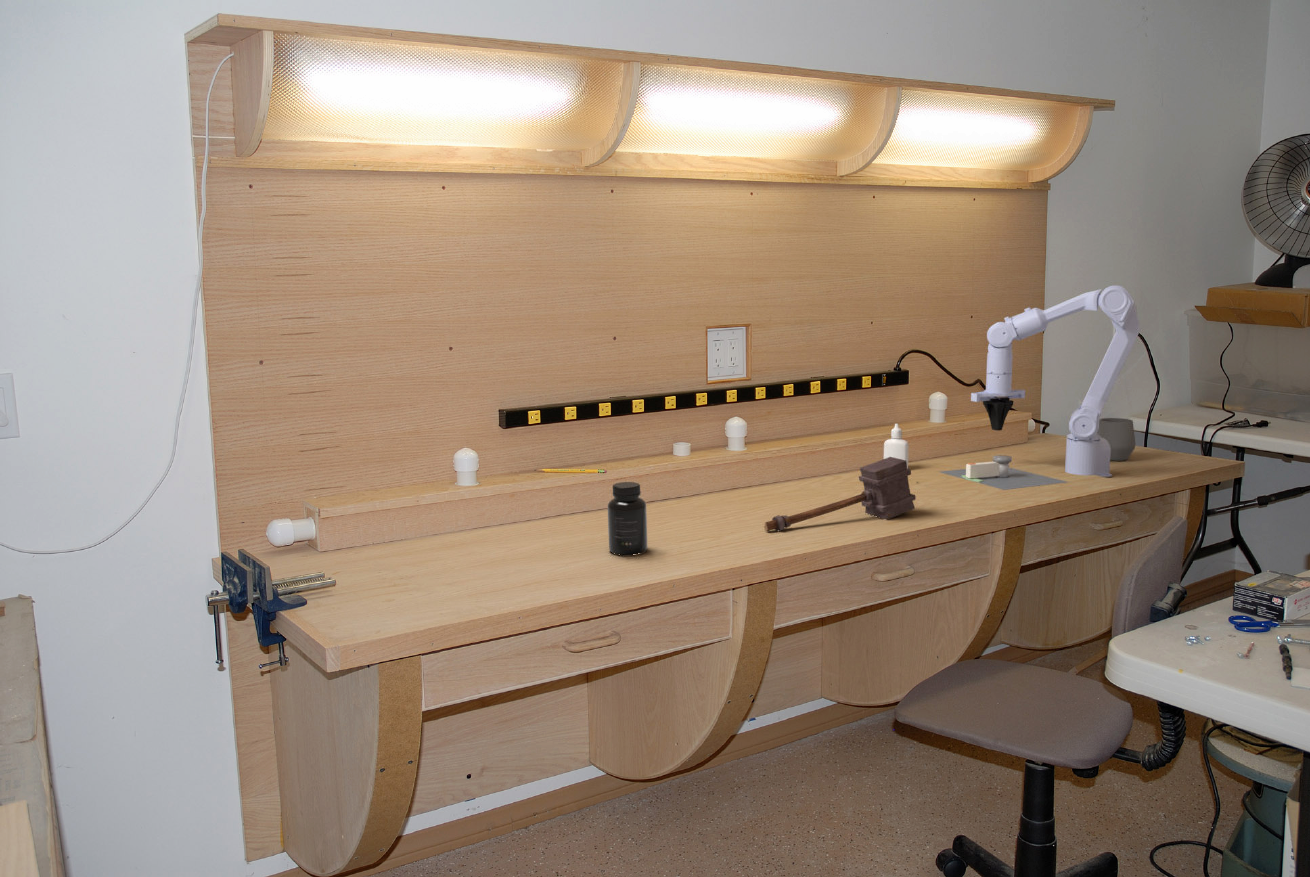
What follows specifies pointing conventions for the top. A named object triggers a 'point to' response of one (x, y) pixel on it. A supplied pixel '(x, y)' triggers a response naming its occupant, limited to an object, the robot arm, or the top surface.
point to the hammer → (867, 494)
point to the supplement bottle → (627, 520)
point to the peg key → (990, 468)
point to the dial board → (1008, 479)
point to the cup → (1118, 437)
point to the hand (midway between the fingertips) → (996, 429)
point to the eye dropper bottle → (896, 445)
